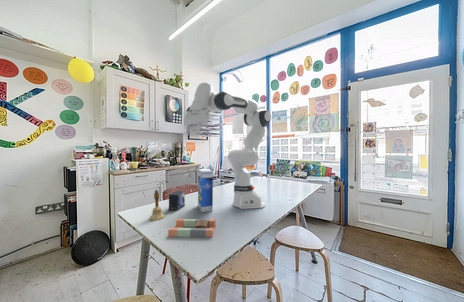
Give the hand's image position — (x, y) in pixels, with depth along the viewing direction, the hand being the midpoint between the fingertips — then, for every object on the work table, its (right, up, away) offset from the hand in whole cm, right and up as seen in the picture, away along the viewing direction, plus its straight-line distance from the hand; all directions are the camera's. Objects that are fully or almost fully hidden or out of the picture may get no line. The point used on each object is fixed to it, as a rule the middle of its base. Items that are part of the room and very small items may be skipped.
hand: (192, 132), depth 95 cm
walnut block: (+7, -49, -11) cm, 51 cm away
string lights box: (+4, -48, +20) cm, 52 cm away
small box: (-15, -49, +20) cm, 55 cm away
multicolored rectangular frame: (+3, -49, -11) cm, 50 cm away
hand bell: (-21, -49, +5) cm, 53 cm away
